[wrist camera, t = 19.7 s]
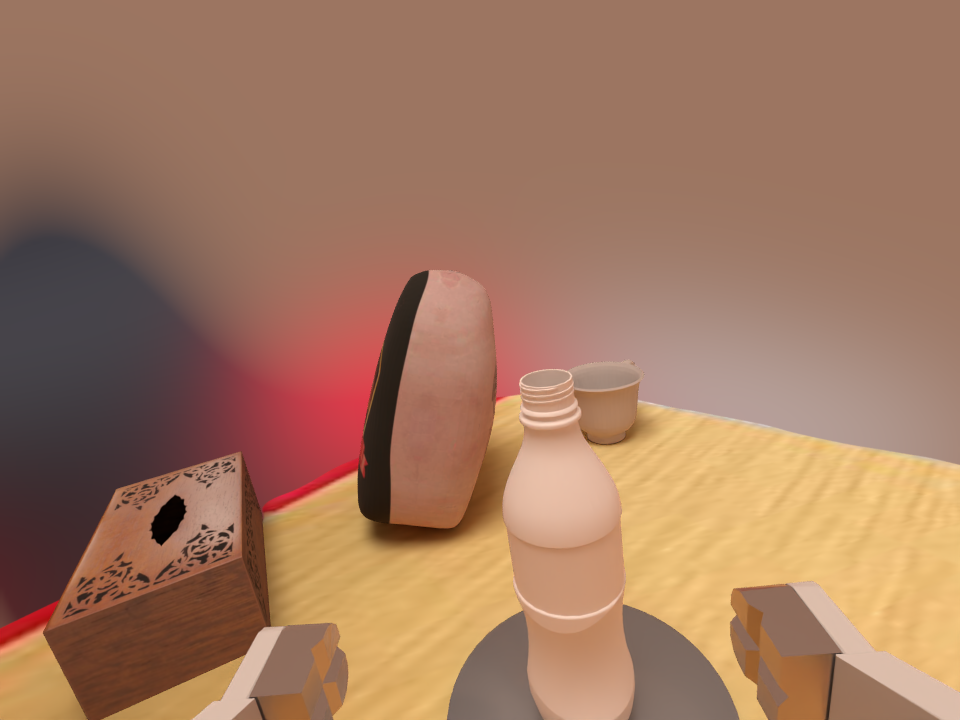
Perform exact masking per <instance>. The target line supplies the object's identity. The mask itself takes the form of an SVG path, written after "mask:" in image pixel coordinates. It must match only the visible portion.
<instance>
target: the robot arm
mask: <svg viewBox="0 0 960 720" xmlns="http://www.w3.org/2000/svg"><path fill="white" fill-rule="evenodd" d="M731 606H732V607H733V609H734V611H735V613H736V614H737V615H736V616H735V617H734V618H733V620H732V621H731V622H730V636H731V641H732V645H733V650H734V653H735V656H736V658H737V661H738V663H739V665H740V667H741V669H742V671H743V673H744V675H745V676H746V677H747V678H749V679H750V680H751V681H753V682H754V683H755V684H757V700H758V701H759V703H760V705H761V707H762V709H763V711H764V713H765V714H766V716H767V718H768V720H960V692H958V691H956V690H954V689H953V688H951V687H949V686H947V685H945V684H944V683H942V682H940V681H938V680H936V679H935V678H933V677H931V676H929V675H927V674H925V673H924V672H922V671H920V670H918V669H916V668H915V667H913V666H911V665H909V664H907V663H906V662H904V661H902V660H900V659H898V658H897V657H895V656H893V655H891V654H889V653H888V652H886V651H875V649H874V648H873V647H872V646H871V645H870V644H869V642H868V641H867V640H866V639H865V638H864V637H863V636H862V634H861V633H860V632H859V631H858V630H857V629H856V627H855V626H854V625H853V624H852V623H851V622H850V620H849V619H848V618H847V617H846V616H845V615H844V613H843V612H842V611H841V610H840V609H839V608H838V607H837V605H836V604H835V603H834V602H833V601H832V600H831V598H830V597H829V596H828V595H827V594H826V593H825V591H824V590H823V589H822V588H821V587H820V586H819V585H818V584H817V583H815V582H813V581H808V582H797V583H787V584H777V585H767V586H756V587H746V588H735V589H733V591H732V594H731ZM339 639H340V634H339V631H338V628H337V625H336V624H333V623H323V624H305V625H288V626H280V627H264V628H263V629H262V630H261V631H260V632H259V633H258V634H257V636H256V637H255V639H254V641H253V643H252V645H251V647H250V648H249V650H248V652H247V654H246V656H245V657H244V659H243V661H242V663H241V665H240V666H239V668H238V670H237V672H236V674H235V676H234V677H233V679H232V681H231V683H230V685H229V686H228V688H227V690H226V692H225V694H224V695H223V697H222V699H221V701H213V702H212V703H211V704H210V705H209V706H207V707H206V708H205V709H204V710H203V711H201V712H200V713H199V714H198V715H197V716H195V717H194V718H193V719H192V720H333V717H332V716H333V715H334V714H335V713H336V712H337V711H338V710H339V709H340V707H341V706H342V705H343V702H344V698H345V695H346V691H347V682H348V664H347V659H346V655H345V653H344V652H343V651H342V650H340V649H339V648H338V647H337V645H338V642H339Z"/></svg>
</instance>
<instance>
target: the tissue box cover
mask: <svg viewBox="0 0 960 720" xmlns="http://www.w3.org/2000/svg"><path fill="white" fill-rule="evenodd" d="M262 522H263V519H262V513H261V510H260V507H259V504H258V500H257V497H256V494H255V492H254V488H253V485H252V482H251V479H250V476H249V473H248V470H247V467H246V464H245V461H244V458H243V454H242V452H237V453H234V454H231V455H227V456H224V457H221V458H218V459H215V460H211V461H208V462H204V463H201V464H198V465H194V466H191V467H188V468H185V469H181V470H178V471H175V472H172V473H168V474H165V475H162V476H158V477H155V478H152V479H148V480H145V481H142V482H139V483H135V484H132V485H129V486H125V487H123V488H119V489H116V491H115V493H114V495H113V497H112V499H111V501H110V503H109V505H108V507H107V509H106V511H105V513H104V515H103V516H102V518H101V520H100V522H99V524H98V526H97V528H96V530H95V532H94V534H93V536H92V538H91V540H90V542H89V544H88V546H87V548H86V550H85V552H84V554H83V555H82V557H81V559H80V561H79V563H78V565H77V567H76V569H75V571H74V573H73V575H72V577H71V579H70V581H69V583H68V585H67V587H66V589H65V591H64V592H63V594H62V596H61V598H60V600H59V602H58V604H57V606H56V608H55V610H54V612H53V614H52V616H51V618H50V620H49V622H48V624H47V626H46V628H45V629H44V631H43V634H44V636H45V638H46V640H47V642H48V644H49V646H50V648H51V650H52V651H53V653H54V655H55V657H56V659H57V661H58V663H59V665H60V667H61V669H62V671H63V673H64V675H65V677H66V678H67V680H68V682H69V684H70V686H71V688H72V690H73V692H74V694H75V696H76V698H77V700H78V702H79V703H80V705H81V707H82V709H83V711H84V713H85V715H86V717H87V719H88V720H101V719H103V718H106V717H108V716H110V715H112V714H115V713H117V712H119V711H121V710H123V709H126V708H128V707H130V706H132V705H135V704H137V703H139V702H141V701H143V700H146V699H148V698H150V697H152V696H155V695H157V694H159V693H161V692H163V691H166V690H168V689H170V688H172V687H175V686H177V685H179V684H181V683H183V682H186V681H188V680H190V679H192V678H195V677H197V676H199V675H201V674H203V673H206V672H208V671H210V670H212V669H215V668H217V667H219V666H221V665H223V664H226V663H228V662H230V661H232V660H235V659H237V658H239V657H241V656H243V655H246V654H247V652H248V650H249V648H250V647H251V645H252V643H253V641H254V639H255V637H256V636H257V634H258V633H259V632H260V631H261V630H262V629H263V628H264V627H271V624H270V612H269V599H268V587H267V574H266V562H265V549H264V537H263V524H262Z"/></svg>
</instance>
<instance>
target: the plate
mask: <svg viewBox="0 0 960 720" xmlns="http://www.w3.org/2000/svg"><path fill="white" fill-rule="evenodd" d="M622 615H623V628H624V634H625V639H626V644H627V647H628V650H629V653H630V656H631V659H632V663H633V668H634V679H635V691H634V700H633V706H632V710H631V714H630V716H629V719H628V720H739V717H738V713H737V711H736V708H735V706H734V703H733V701H732V698H731V696H730V694H729V692H728V690H727V688H726V686H725V685H724V683H723V681H722V679H721V678H720V676H719V675H718V673H717V672H716V670H715V669H714V668H713V666H712V665H711V664H710V662H709V661H708V660H707V659H706V658H705V656H704V655H703V654H702V653H701V652H700V651H699V650H698V649H697V648H696V647H695V646H694V645H693V644H692V643H691V642H690V641H689V640H687V639H686V638H685V637H684V636H683V635H681V634H680V633H679V632H677V631H676V630H675V629H673V628H672V627H671V626H669V625H667V624H666V623H664V622H662V621H661V620H659V619H657V618H656V617H654V616H651V615H649V614H647V613H645V612H643V611H641V610H638V609H635V608H632V607H629V606H627V605H623V612H622ZM528 652H529V640H528V628H527V623H526V618H525V614H524V611H521V612H519V613H517V614H515V615H513V616H511V617H510V618H508V619H507V620H505V621H504V622H502V623H501V624H499V625H498V626H497V627H496V628H494V629H493V630H492V631H491V632H490V633H488V634H487V635H486V636H485V637H484V638H483V640H482V641H481V642H480V643H479V644H478V645H477V646H476V647H475V649H474V650H473V651H472V653H471V654H470V655H469V657H468V659H467V660H466V662H465V664H464V665H463V667H462V669H461V671H460V673H459V676H458V678H457V680H456V683H455V685H454V688H453V692H452V695H451V699H450V704H449V710H448V716H447V720H544V719H543V718H542V716H541V714H540V712H539V710H538V707H537V705H536V703H535V701H534V698H533V696H532V694H531V691H530V686H529V680H528V673H527V665H528Z"/></svg>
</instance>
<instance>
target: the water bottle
mask: <svg viewBox="0 0 960 720" xmlns="http://www.w3.org/2000/svg"><path fill="white" fill-rule="evenodd" d="M573 385H574V382H573V378H572V375H571V373H570V372H567V371H564V370H557V369H550V370H540V371H535V372H532V373H529V374H527V375H525V376H523V377H522V378H521V380H520V384H519V386H520V388H521V389H520V392H521V399H522V404H521V406H520V410H521V412H520V415H519V420H520V422H521V424H522V425H524V438H523V442H522V446H521V448H520V451H519V453H518V456H517V458H516V460H515V462H514V465H513V467H512V469H511V472H510V475H509V477H508V480H507V483H506V487H505V491H504V494H503V503H502V505H503V519H504V523H505V525H506V527H507V533H508V539H509V546H510V552H511V559H512V565H513V571H514V580H513V582H514V589H515V592H516V595H517V598H518V600H519V602H520V604H521V606H522V609H523V611H524V614H525V618H526V623H527V628H528V640H529V652H528V665H527V673H528V680H529V686H530V691H531V694H532V696H533V698H534V701H535V703H536V705H537V707H538V710H539V712H540V714H541V716H542V718H543V719H544V720H628V719H629V716H630V714H631V710H632V706H633V700H634V691H635V679H634V668H633V663H632V659H631V656H630V653H629V650H628V647H627V644H626V639H625V634H624V628H623V615H622V612H623V595H624V587H625V582H626V574H625V568H624V561H623V547H622V534H621V521H620V518H621V514H622V508H621V501H620V497H619V493H618V490H617V488H616V485H615V483H614V481H613V479H612V477H611V476H610V474H609V472H608V471H607V469H606V468H605V466H604V465H603V463H602V462H601V460H600V459H599V458H598V456H597V455H596V454H595V452H594V451H593V450H592V448H591V447H590V446H589V444H588V443H587V441H586V440H585V438H584V436H583V434H582V432H581V429H580V426H579V422H578V420H579V419H580V418H581V415H582V414H581V409H580V407H579V406H578V401H577V399H576V398H575V397H574V386H573Z"/></svg>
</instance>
